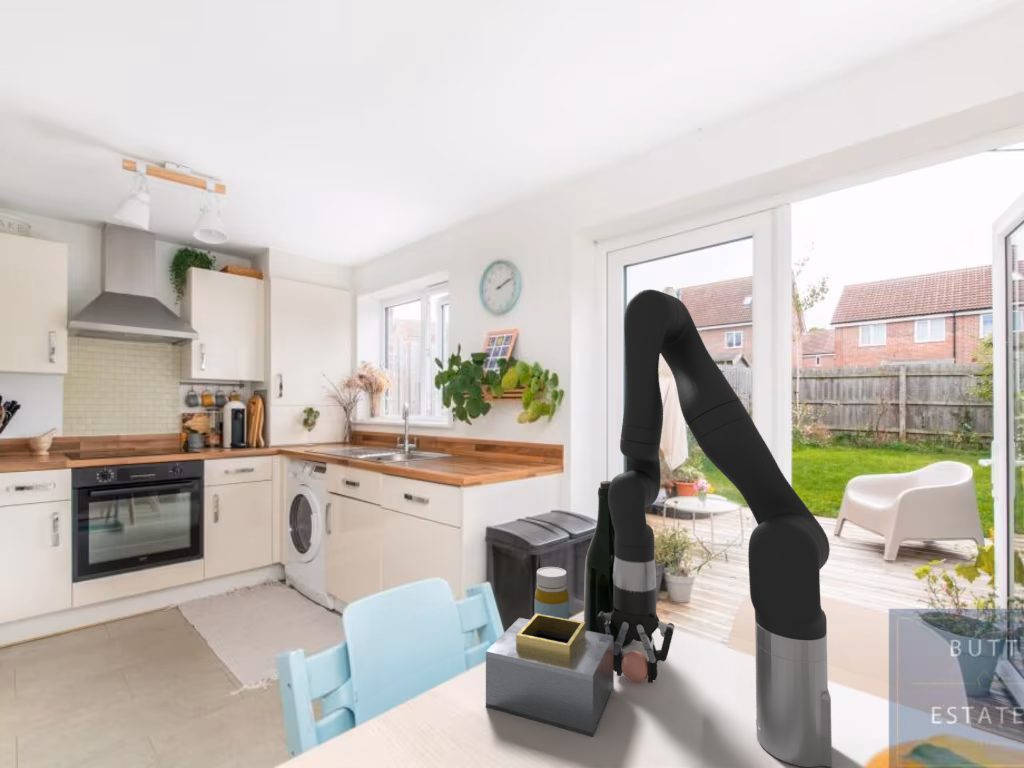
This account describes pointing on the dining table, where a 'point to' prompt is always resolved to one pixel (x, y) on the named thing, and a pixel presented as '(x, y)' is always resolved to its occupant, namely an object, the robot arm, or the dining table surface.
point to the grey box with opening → (551, 673)
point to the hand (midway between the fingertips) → (635, 676)
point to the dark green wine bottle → (601, 568)
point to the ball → (634, 666)
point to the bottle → (552, 592)
